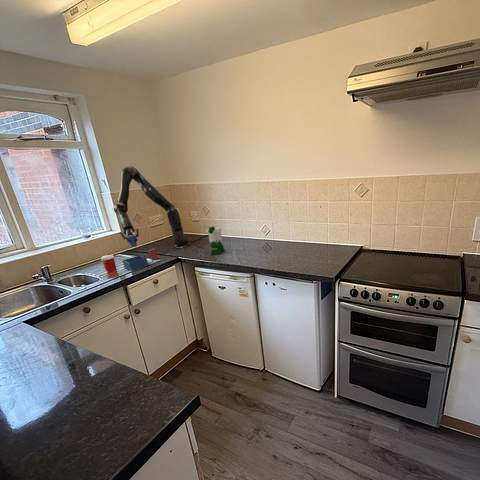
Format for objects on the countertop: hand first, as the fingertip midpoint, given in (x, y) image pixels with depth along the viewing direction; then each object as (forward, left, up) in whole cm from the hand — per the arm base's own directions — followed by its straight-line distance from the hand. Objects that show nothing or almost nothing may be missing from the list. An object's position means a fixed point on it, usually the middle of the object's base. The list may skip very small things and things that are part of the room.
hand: (133, 241), depth 231 cm
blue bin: (+11, +22, -13) cm, 28 cm away
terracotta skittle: (-4, +20, -13) cm, 25 cm away
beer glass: (+29, +27, -13) cm, 42 cm away
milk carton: (-37, +56, -13) cm, 69 cm away
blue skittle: (-1, -2, -4) cm, 5 cm away
